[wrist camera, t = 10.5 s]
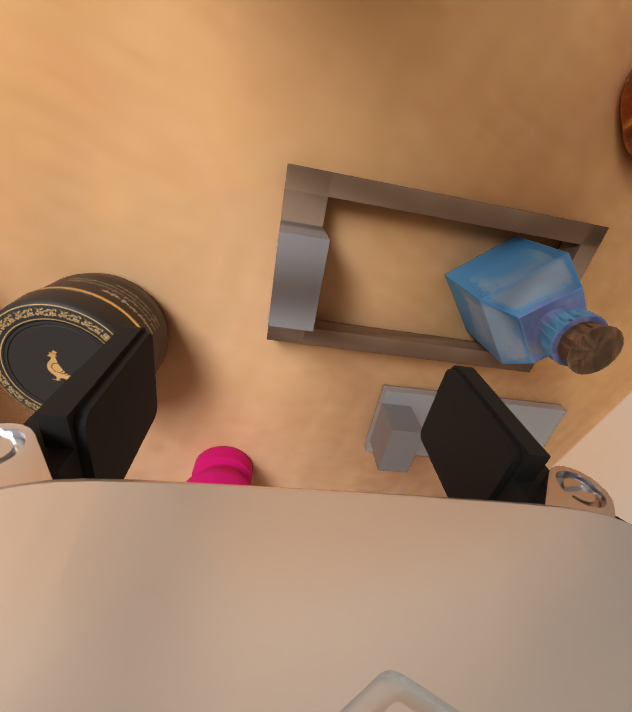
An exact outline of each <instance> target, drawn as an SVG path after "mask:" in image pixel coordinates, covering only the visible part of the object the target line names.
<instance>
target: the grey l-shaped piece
mask: <svg viewBox="0 0 632 712" xmlns="http://www.w3.org/2000/svg"><path fill="white" fill-rule="evenodd" d="M436 394H437V391H432V390H423V389H414V388H405V387H396V386H387V385H384V386H383V389H382V392H381V395H380V398H379V401H378V405H377V408H376V411H375V414H374V417H373V420H372V423H371V426H370V429H369V433H368V436H367V439H366V442H365V448H366V451H368V452H373V454H374V457H375V461H376V464H377V468H378V470H383V471H396V472H408V471H409V468H410V466H411V463H412V461H413V459H414V456H415V455H416V456H428V454H427V451H426V449H425V447H424V445H423V443H422V441H421V435H420V433H421V429H422V426H423V424H424V422H425V419H426V417H427V415H428V412H429V410H430V408H431V405H432V403H433V401H434V398H435V396H436ZM500 399H501V400H502V401H503V402H504V404H505V405H506V406H507V407H508V408H509V409H510V410H511V412H512V413H513V414H514V415H515V416H516V417H517V418H518V420H519V421H520V422H521V423H522V424H523V425H524V427H525V428H526V429H527V430H528V431H529V432H530V433H531V435H532V436H533V437H534V438H535V439H536V440H537V441H538V443H539V444H540V445H541V446H542V447H544V445H545V444H546V442H547V440H548V439H549V437H550V436H551V434H552V433H553V431H554V430H555V428H556V427H557V425H558V424H559V422H560V420H561V419H562V417H563V416H564V414H565V413H566V411H567V410H565V409H564V408H563V407H562V406H561V405H557V404H548V403H539V402H530V401H521V400H512V399H503V398H500ZM428 457H429V456H428Z"/></svg>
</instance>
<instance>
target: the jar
mask: <svg viewBox="0 0 632 712" xmlns="http://www.w3.org/2000/svg"><path fill="white" fill-rule="evenodd" d="M123 325H126V326H134V327H142V328H145V329H146V332H147V333H151V334H152V336H153V346H154V362H155V373H156V371H157V370H158V368H159V367H160V365H161V363H162V362H163V360H164V357H165V355H166V351H167V346H168V326H167V322H166V319H165V317H164V314H163V312H162V310H161V309H160V307H159V306H158V304H157V303H156V302H155V300H154V299H153V298H152V297H151V296H150V295H149V294H148V293H147V292H145V291H144V290H143V289H142V288H140V287H139V286H137V285H136V284H134V283H132V282H130V281H128V280H126V279H124V278H121V277H118V276H114V275H110V274H103V273H85V274H76V275H72V276H68V277H65V278H62V279H60V280H58V281H56V282H54V283H52V284H50V285H48V286H46V287H44V288H41V289H37V290H34V291H31V292H29V293H27V294H25V295H23V296H21V297H20V298H18V299H17V300H15V301H14V302H12V303H11V304H9V305H8V306H6V307H5V308H3V309H2V310H1V311H0V386H1V387H2V388H3V389H4V390H5V391H6V392H7V393H8V394H9V395H10V396H11V397H13V398H14V399H15V400H16V401H18V402H19V403H20V404H22V405H23V406H25V407H27V408H28V409H30V410H32V411H34V412H36V411H37V410H38V409H39V408H40V407H41V406H42V405H43V404H44V403H45V402H46V401H47V400H48V399H49V398H50V396H51V395H52V394H53V393H54V392H55V391H56V390H57V389H58V388H59V387H60V386H61V385H62V384H63V383H64V382H65V381H66V380H67V379H68V378H69V377H70V376H71V375H72V374H73V373H74V372H75V371H76V370H77V369H78V368H80V367H81V366H83V365H84V364H85V363H86V362H87V361H88V360H89V359H90V358H91V357H92V356H93V355H94V354H95V353H96V352H97V351H98V350H99V349H100V348H101V347H102V346H103V345H104V344H105V343H106V341H107V340H108V339H109V338H110V337H111V336H112V335H113V334H114V333H115V332H116V331H117V330H118V329H119V328H120V327H121V326H123Z"/></svg>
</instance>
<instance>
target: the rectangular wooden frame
mask: <svg viewBox="0 0 632 712" xmlns="http://www.w3.org/2000/svg"><path fill="white" fill-rule="evenodd" d="M328 197H333V198H338V199H343V200H348V201H354V202H359V203H364V204H370V205H375V206H380V207H386V208H391V209H396V210H401V211H407V212H412V213H417V214H423V215H428V216H433V217H438V218H444V219H449V220H454V221H460V222H465V223H470V224H475V225H481V226H486V227H491V228H497V229H502V230H507V231H512V232H518V233H523V234H528V235H534V236H539V237H544V238H550V239H555V240H560V241H562V243H561V245H560V247H559V249H558V250H561V251H565V252H568V253H569V254H570V257H571V260H572V262H573V265H574V267H575V270H576V272H577V275H578V277H579V280H580V279H581V278H582V276H583V274H584V272H585V270H586V268H587V267H588V265H589V263H590V261H591V259H592V258H593V256H594V254H595V252H596V250H597V248H598V247H599V245H600V243H601V241H602V239H603V238H604V236H605V234H606V232H607V230H608V227H603V226H598V225H593V224H588V223H583V222H578V221H573V220H568V219H563V218H558V217H553V216H548V215H543V214H538V213H533V212H528V211H523V210H518V209H513V208H508V207H503V206H498V205H493V204H488V203H483V202H478V201H473V200H468V199H463V198H458V197H453V196H448V195H443V194H438V193H433V192H428V191H423V190H418V189H413V188H408V187H403V186H398V185H393V184H388V183H383V182H378V181H373V180H368V179H363V178H358V177H353V176H348V175H343V174H338V173H333V172H328V171H323V170H318V169H313V168H308V167H303V166H298V165H293V164H288V166H287V175H286V183H285V191H284V200H283V208H282V217H281V224H280V230H279V239H278V247H277V255H276V264H275V272H274V281H273V289H272V298H271V306H270V315H269V323H268V334H267V339H269V340H277V341H285V342H293V343H301V344H308V345H316V346H324V347H332V348H340V349H348V350H356V351H364V352H372V353H380V354H388V355H396V356H404V357H412V358H420V359H428V360H436V361H444V362H452V363H460V364H468V365H476V366H484V367H492V368H500V369H508V370H516V371H524V372H530V370H531V369H532V367H533V365H534V363H526V364H502V363H501V362H500V361H498V360H497V359H496V358H495V357H494V356H493V355H492V354H491V353H490V352H489V351H488V350H487V349H486V348H485V347H484V346H482V345H481V344H480V343H479V342H475V341H467V340H460V339H453V338H445V337H438V336H431V335H423V334H416V333H409V332H401V331H394V330H387V329H379V328H372V327H365V326H357V325H350V324H343V323H335V322H328V321H321V320H315V318H316V312H317V307H318V302H319V296H320V291H321V286H322V280H323V275H324V270H325V264H326V259H327V254H328V248H329V243H330V239H329V237H328V236H327V234H326V232H325V230H324V228H323V223H324V217H325V212H326V206H327V200H328Z"/></svg>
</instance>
